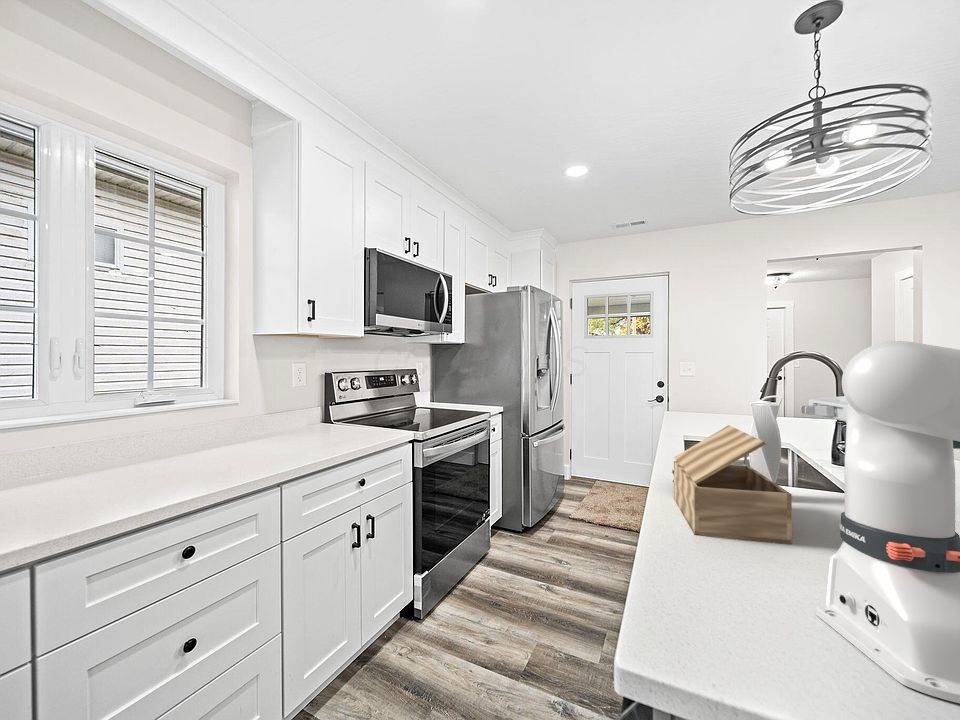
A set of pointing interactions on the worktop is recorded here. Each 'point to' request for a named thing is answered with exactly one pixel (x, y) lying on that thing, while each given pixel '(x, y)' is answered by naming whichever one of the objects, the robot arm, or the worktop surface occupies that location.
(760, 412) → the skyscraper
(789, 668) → the worktop surface
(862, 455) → the robot arm
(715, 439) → the lid flap
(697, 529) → the wooden box
